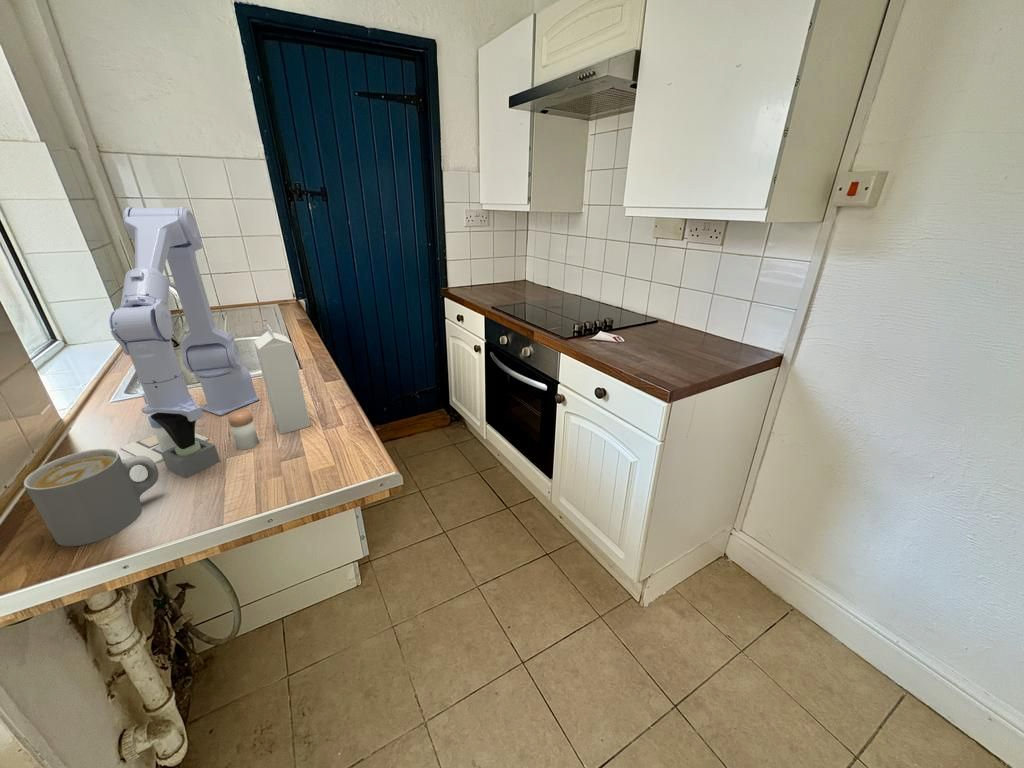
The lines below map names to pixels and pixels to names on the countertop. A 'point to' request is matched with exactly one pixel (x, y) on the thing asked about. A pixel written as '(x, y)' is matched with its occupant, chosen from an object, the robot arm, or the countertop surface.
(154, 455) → the sheet
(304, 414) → the milk
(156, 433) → the cylinder
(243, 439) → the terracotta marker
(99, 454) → the coffee mug
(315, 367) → the countertop surface
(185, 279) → the robot arm
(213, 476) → the countertop surface
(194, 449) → the button
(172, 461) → the button housing
